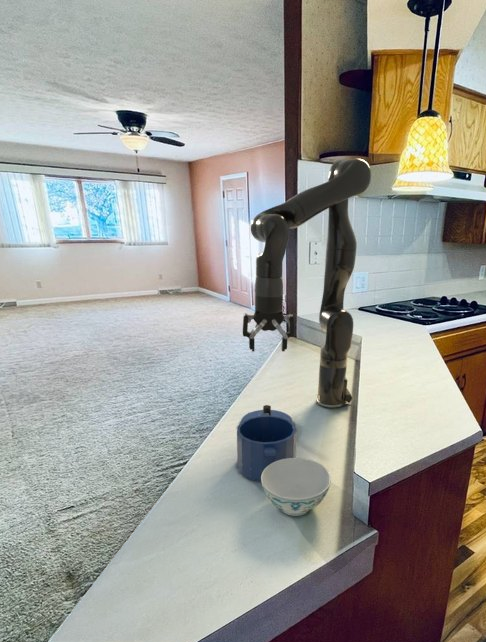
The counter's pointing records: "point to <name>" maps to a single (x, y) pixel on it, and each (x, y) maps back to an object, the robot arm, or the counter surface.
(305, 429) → the counter surface
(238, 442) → the pot
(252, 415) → the lid
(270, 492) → the chinaware
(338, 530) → the counter surface
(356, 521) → the counter surface
